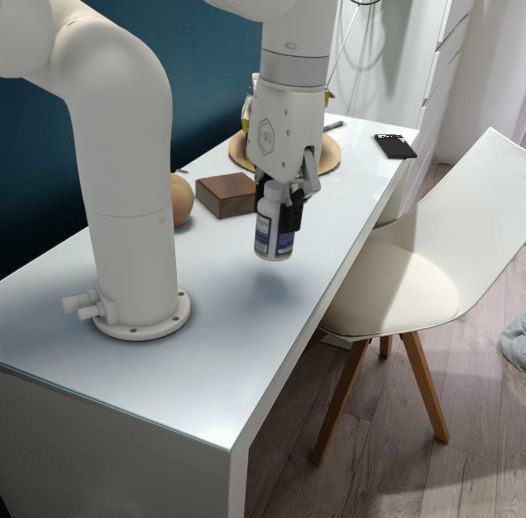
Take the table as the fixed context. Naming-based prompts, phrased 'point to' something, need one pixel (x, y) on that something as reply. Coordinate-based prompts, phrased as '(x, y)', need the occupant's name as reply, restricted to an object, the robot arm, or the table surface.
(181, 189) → the fruit
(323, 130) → the pen
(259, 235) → the pill bottle
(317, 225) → the table surface
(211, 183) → the block
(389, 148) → the smartphone
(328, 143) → the boxes on round tray
